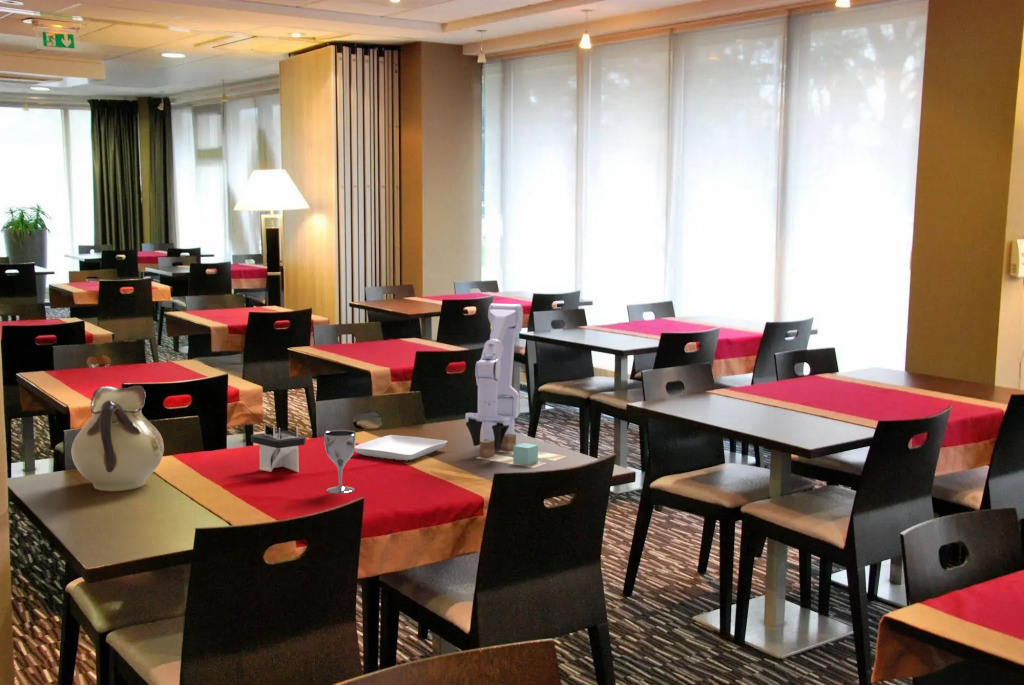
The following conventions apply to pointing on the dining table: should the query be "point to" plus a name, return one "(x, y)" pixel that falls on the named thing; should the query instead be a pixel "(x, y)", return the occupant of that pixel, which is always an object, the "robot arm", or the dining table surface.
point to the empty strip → (541, 455)
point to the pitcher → (117, 441)
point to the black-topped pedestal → (278, 448)
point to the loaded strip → (488, 454)
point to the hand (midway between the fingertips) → (487, 447)
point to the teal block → (525, 454)
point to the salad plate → (399, 447)
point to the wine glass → (340, 453)
